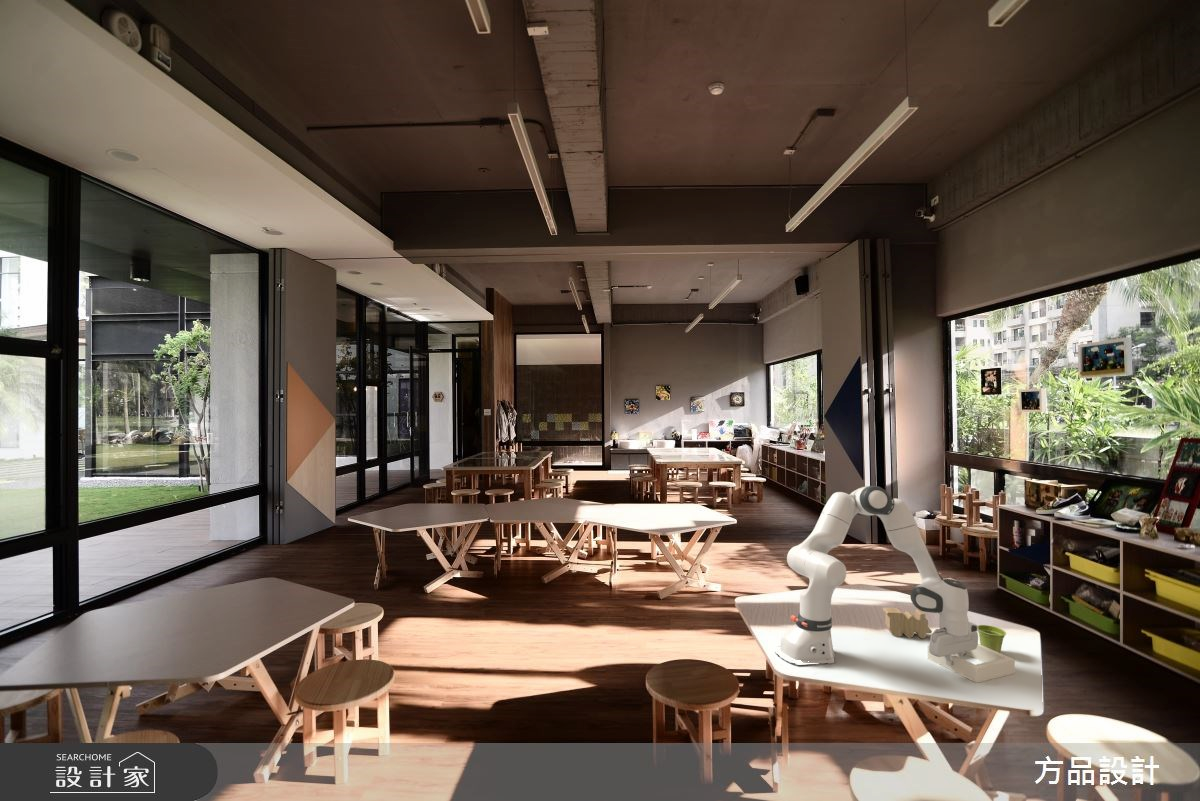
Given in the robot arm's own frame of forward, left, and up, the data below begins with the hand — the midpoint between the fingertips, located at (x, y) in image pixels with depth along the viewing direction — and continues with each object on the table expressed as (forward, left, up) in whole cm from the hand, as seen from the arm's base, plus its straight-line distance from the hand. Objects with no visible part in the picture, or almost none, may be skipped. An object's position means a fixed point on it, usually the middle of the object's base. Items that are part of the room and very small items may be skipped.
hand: (953, 664), depth 205 cm
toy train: (+10, +28, -2) cm, 30 cm away
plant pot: (+27, +5, -2) cm, 27 cm away
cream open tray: (+9, 0, -2) cm, 9 cm away
